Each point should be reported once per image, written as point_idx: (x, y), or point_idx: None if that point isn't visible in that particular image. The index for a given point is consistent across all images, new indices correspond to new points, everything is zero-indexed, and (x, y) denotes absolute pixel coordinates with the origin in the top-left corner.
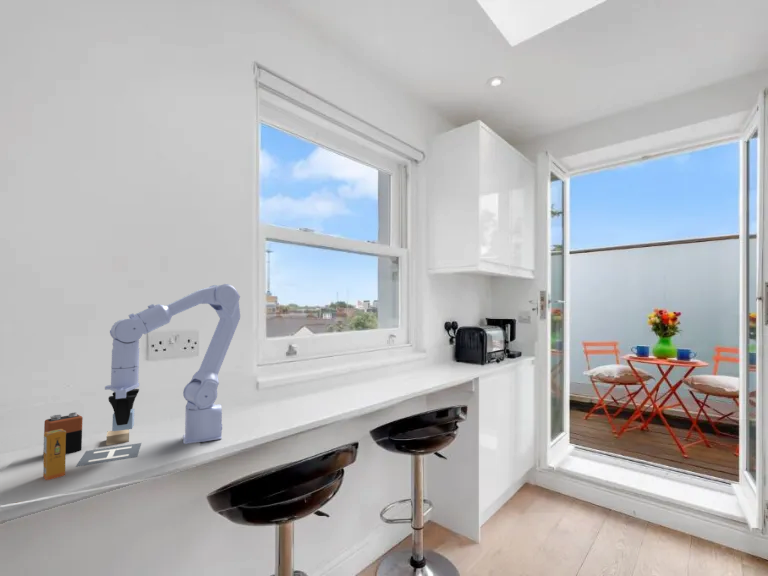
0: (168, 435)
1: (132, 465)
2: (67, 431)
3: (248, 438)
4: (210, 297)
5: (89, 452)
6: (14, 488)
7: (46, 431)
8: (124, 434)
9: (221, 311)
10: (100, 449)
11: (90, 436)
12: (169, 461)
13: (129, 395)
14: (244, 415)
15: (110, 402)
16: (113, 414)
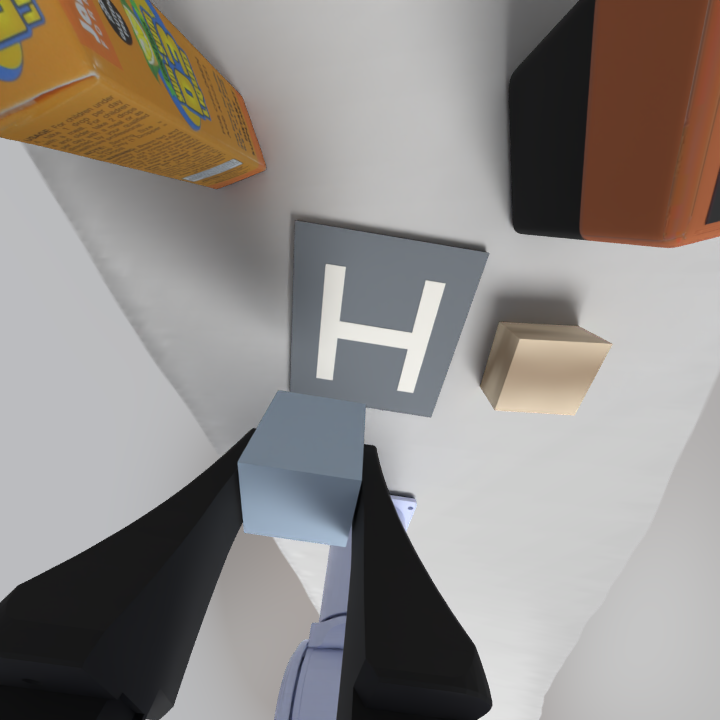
0: (464, 475)
1: (239, 378)
2: (593, 139)
3: (302, 565)
4: None
5: (454, 266)
6: None
7: None
8: (498, 394)
9: None
10: (462, 304)
11: None
12: (228, 446)
13: (346, 670)
14: (487, 601)
15: (38, 577)
16: (239, 465)
